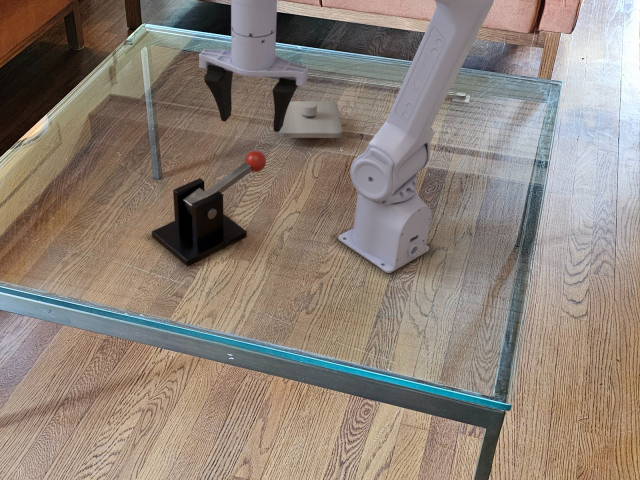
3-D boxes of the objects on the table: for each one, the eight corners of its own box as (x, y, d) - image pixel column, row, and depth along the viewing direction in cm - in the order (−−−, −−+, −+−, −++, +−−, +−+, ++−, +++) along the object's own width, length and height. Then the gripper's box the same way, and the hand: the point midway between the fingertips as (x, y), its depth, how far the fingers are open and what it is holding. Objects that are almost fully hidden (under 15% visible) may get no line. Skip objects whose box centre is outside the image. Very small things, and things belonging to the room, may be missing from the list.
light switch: (342, 148, 130) (345, 119, 126) (278, 148, 130) (279, 119, 126) (335, 116, 137) (338, 88, 134) (275, 116, 137) (276, 88, 134)
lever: (258, 159, 114) (254, 143, 112) (271, 167, 113) (268, 152, 111) (186, 212, 111) (181, 197, 109) (199, 222, 109) (194, 207, 107)
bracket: (210, 209, 118) (209, 165, 113) (246, 237, 113) (247, 192, 108) (151, 237, 113) (148, 192, 108) (187, 266, 108) (185, 221, 103)
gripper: (317, 24, 107) (311, 118, 116) (212, 7, 111) (213, 100, 120) (301, 47, 102) (295, 143, 111) (191, 28, 106) (194, 123, 115)
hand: (252, 123), depth 115 cm, fingers open, 7 cm apart
